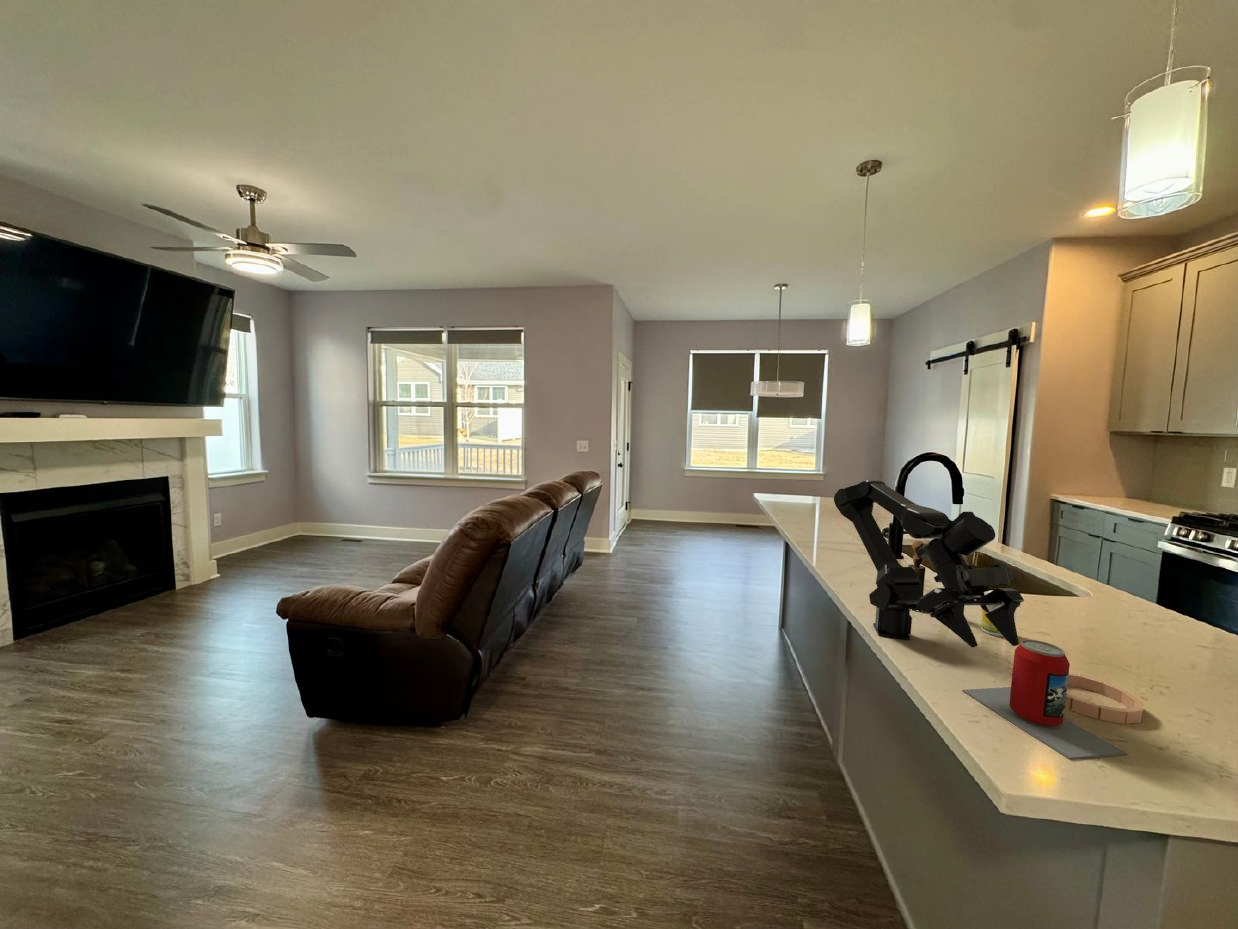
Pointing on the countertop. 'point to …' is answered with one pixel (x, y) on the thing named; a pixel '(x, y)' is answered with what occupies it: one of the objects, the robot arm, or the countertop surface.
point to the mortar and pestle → (918, 565)
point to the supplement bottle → (989, 625)
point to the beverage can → (1039, 683)
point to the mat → (1048, 728)
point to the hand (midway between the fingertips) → (995, 646)
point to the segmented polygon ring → (1104, 712)
